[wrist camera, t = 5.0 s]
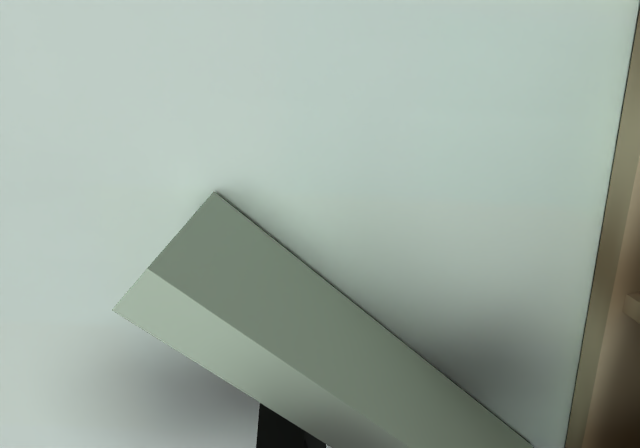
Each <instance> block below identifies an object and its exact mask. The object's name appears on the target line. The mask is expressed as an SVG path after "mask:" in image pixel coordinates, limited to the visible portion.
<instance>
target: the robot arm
mask: <svg viewBox="0 0 640 448" xmlns="http://www.w3.org/2000/svg"><path fill="white" fill-rule="evenodd" d="M256 448H326V444H325V443H324V442H322V441H321V440H319V439H317V438H316V437H314V436H313V435H311V434H309V433H308V432H306V431H305V430H303V429H301V428H300V427H298V426H297V425H295V424H293V423H292V422H290V421H289V420H287V419H285V418H284V417H282V416H281V415H279V414H277V413H276V412H274V411H272V410H271V409H269V408H268V407H266V406H264V405H263V404H261V403H260V409H259V420H258V432H257V444H256Z"/></svg>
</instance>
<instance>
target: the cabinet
mask: <svg viewBox="0 0 640 448" xmlns="http://www.w3.org/2000/svg"><path fill="white" fill-rule="evenodd" d="M565 448H640V11H639V17H638V23H637V29H636V35H635V41H634V46H633V52H632V58H631V64H630V70H629V76H628V82H627V87H626V93H625V99H624V105H623V111H622V117H621V123H620V128H619V134H618V140H617V146H616V152H615V158H614V164H613V169H612V175H611V181H610V187H609V193H608V199H607V205H606V210H605V216H604V222H603V228H602V234H601V240H600V246H599V251H598V257H597V263H596V269H595V275H594V281H593V287H592V292H591V298H590V304H589V310H588V316H587V322H586V328H585V333H584V339H583V345H582V351H581V357H580V363H579V369H578V374H577V380H576V386H575V392H574V398H573V404H572V410H571V415H570V421H569V427H568V433H567V439H566V445H565Z"/></svg>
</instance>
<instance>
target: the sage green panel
mask: <svg viewBox="0 0 640 448" xmlns="http://www.w3.org/2000/svg"><path fill="white" fill-rule="evenodd" d="M112 311H114V312H115V313H117V314H119V315H120V316H122V317H123V318H125V319H127V320H128V321H130V322H131V323H133V324H135V325H136V326H138V327H139V328H141V329H143V330H144V331H146V332H147V333H149V334H151V335H152V336H154V337H155V338H157V339H159V340H160V341H162V342H163V343H165V344H167V345H168V346H170V347H171V348H173V349H175V350H176V351H178V352H180V353H181V354H183V355H184V356H186V357H188V358H189V359H191V360H192V361H194V362H196V363H197V364H199V365H200V366H202V367H204V368H205V369H207V370H208V371H210V372H212V373H213V374H215V375H216V376H218V377H220V378H221V379H223V380H224V381H226V382H228V383H229V384H231V385H232V386H234V387H236V388H237V389H239V390H240V391H242V392H244V393H245V394H247V395H248V396H250V397H252V398H253V399H255V400H256V401H258V402H260V403H261V404H263V405H264V406H266V407H268V408H269V409H271V410H272V411H274V412H276V413H277V414H279V415H281V416H282V417H284V418H285V419H287V420H289V421H290V422H292V423H293V424H295V425H297V426H298V427H300V428H301V429H303V430H305V431H306V432H308V433H309V434H311V435H313V436H314V437H316V438H317V439H319V440H321V441H322V442H324V443H325V444H327V445H329V446H330V447H332V448H534V447H533V446H532V445H531V444H529V443H528V442H527V441H526V440H524V439H523V438H522V437H521V436H519V435H518V434H517V433H516V432H514V431H513V430H512V429H511V428H509V427H508V426H507V425H506V424H504V423H503V422H502V421H501V420H499V419H498V418H497V417H496V416H494V415H493V414H492V413H491V412H489V411H488V410H487V409H486V408H484V407H483V406H482V405H481V404H479V403H478V402H477V401H476V400H474V399H473V398H472V397H471V396H469V395H468V394H467V393H466V392H464V391H463V390H462V389H461V388H459V387H458V386H457V385H455V384H454V383H453V382H452V381H450V380H449V379H448V378H447V377H445V376H444V375H443V374H442V373H440V372H439V371H438V370H437V369H435V368H434V367H433V366H432V365H430V364H429V363H428V362H427V361H425V360H424V359H423V358H422V357H420V356H419V355H418V354H417V353H415V352H414V351H413V350H412V349H410V348H409V347H408V346H407V345H405V344H404V343H403V342H402V341H400V340H399V339H398V338H397V337H395V336H394V335H393V334H392V333H390V332H389V331H388V330H387V329H385V328H384V327H383V326H382V325H380V324H379V323H378V322H377V321H375V320H374V319H373V318H372V317H370V316H369V315H368V314H367V313H365V312H364V311H363V310H362V309H360V308H359V307H358V306H357V305H355V304H354V303H353V302H352V301H350V300H349V299H348V298H347V297H345V296H344V295H343V294H342V293H340V292H339V291H338V290H337V289H335V288H334V287H333V286H332V285H330V284H329V283H328V282H327V281H325V280H324V279H323V278H322V277H320V276H319V275H318V274H317V273H315V272H314V271H313V270H312V269H310V268H309V267H308V266H307V265H305V264H304V263H303V262H302V261H300V260H299V259H298V258H297V257H295V256H294V255H293V254H292V253H290V252H289V251H288V250H286V249H285V248H284V247H283V246H281V245H280V244H279V243H278V242H276V241H275V240H274V239H273V238H271V237H270V236H269V235H268V234H266V233H265V232H264V231H263V230H261V229H260V228H259V227H258V226H256V225H255V224H254V223H253V222H251V221H250V220H249V219H248V218H246V217H245V216H244V215H243V214H241V213H240V212H239V211H238V210H236V209H235V208H234V207H233V206H231V205H230V204H229V203H228V202H226V201H225V200H224V199H223V198H221V197H220V196H219V195H218V194H216V193H215V192H213V193H212V194H211V196H210V197H209V198H208V199H207V200H206V201H205V202H204V204H203V205H202V206H201V207H200V208H199V209H198V211H197V212H196V213H195V214H194V215H193V216H192V217H191V219H190V220H189V221H188V222H187V223H186V224H185V226H184V227H183V228H182V229H181V230H180V231H179V232H178V234H177V235H176V236H175V237H174V238H173V239H172V240H171V242H170V243H169V244H168V245H167V246H166V247H165V249H164V250H163V251H162V252H161V253H160V254H159V255H158V257H157V258H156V259H155V260H154V261H153V262H152V264H151V265H150V266H149V267H148V268H147V269H146V270H145V272H144V273H143V274H142V275H141V276H140V278H139V279H138V280H137V281H136V282H135V283H134V285H133V286H132V287H131V288H130V289H129V290H128V292H127V293H126V294H125V295H124V296H123V297H122V299H121V300H120V301H119V302H118V303H117V305H116V306H115V307H114V308H113V309H112Z"/></svg>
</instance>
